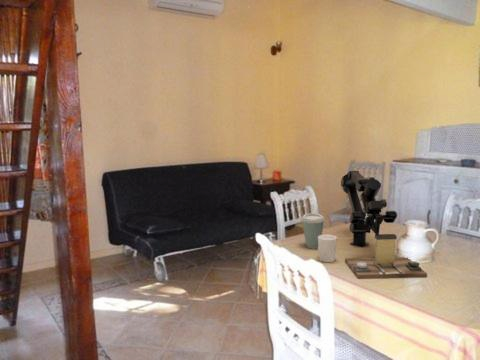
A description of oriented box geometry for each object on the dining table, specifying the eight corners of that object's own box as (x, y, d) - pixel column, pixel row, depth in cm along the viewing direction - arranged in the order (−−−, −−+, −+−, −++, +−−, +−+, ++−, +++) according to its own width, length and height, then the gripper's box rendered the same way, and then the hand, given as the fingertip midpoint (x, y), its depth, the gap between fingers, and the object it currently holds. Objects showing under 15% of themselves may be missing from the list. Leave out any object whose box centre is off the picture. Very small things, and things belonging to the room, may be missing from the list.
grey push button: (355, 265, 156) (355, 261, 156) (364, 265, 156) (365, 261, 156) (358, 268, 152) (358, 265, 152) (367, 268, 152) (368, 265, 152)
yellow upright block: (373, 264, 159) (374, 233, 158) (392, 264, 159) (393, 233, 158) (376, 268, 155) (377, 236, 154) (396, 267, 155) (397, 236, 154)
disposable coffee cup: (326, 249, 183) (326, 218, 181) (302, 250, 184) (302, 218, 182) (322, 242, 194) (322, 212, 192) (299, 243, 194) (299, 213, 192)
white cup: (325, 264, 165) (326, 240, 164) (314, 258, 172) (314, 236, 171) (340, 260, 169) (340, 237, 168) (328, 255, 176) (328, 233, 174)
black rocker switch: (407, 263, 156) (407, 261, 156) (414, 263, 156) (414, 261, 156) (411, 265, 152) (411, 263, 152) (419, 265, 152) (419, 263, 152)
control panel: (345, 261, 167) (345, 256, 167) (406, 260, 168) (407, 254, 167) (358, 279, 149) (358, 272, 149) (427, 277, 149) (427, 271, 149)
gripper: (352, 193, 168) (359, 225, 158) (396, 192, 168) (406, 224, 158) (346, 207, 177) (353, 238, 167) (388, 206, 177) (397, 237, 167)
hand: (377, 234), depth 165 cm, fingers closed
